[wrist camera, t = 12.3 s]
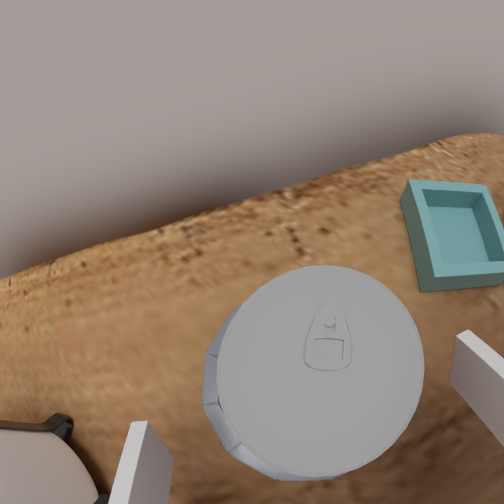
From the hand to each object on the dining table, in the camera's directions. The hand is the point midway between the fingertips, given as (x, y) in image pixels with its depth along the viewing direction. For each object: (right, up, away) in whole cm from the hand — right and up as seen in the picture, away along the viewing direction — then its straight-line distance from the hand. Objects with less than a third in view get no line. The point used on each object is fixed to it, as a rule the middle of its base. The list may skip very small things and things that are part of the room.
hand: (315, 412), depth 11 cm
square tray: (+16, +7, +13) cm, 21 cm away
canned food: (+1, -3, +9) cm, 9 cm away
